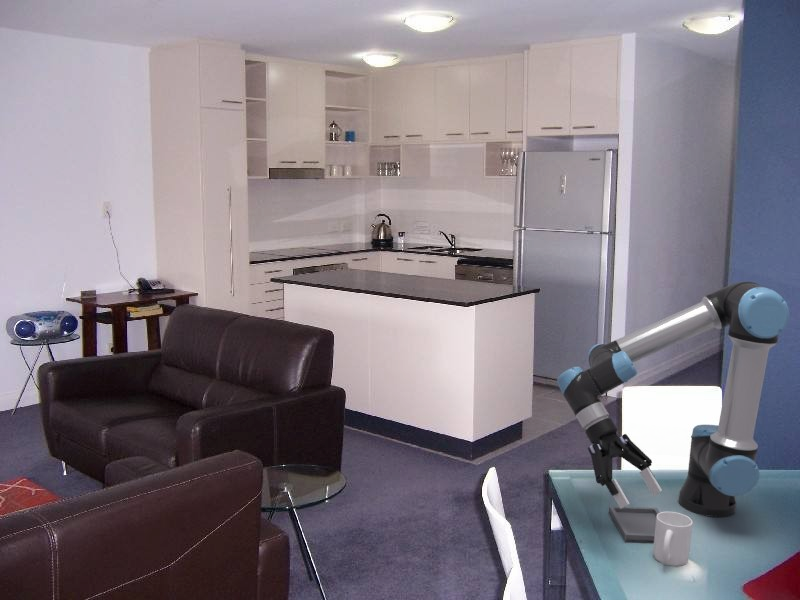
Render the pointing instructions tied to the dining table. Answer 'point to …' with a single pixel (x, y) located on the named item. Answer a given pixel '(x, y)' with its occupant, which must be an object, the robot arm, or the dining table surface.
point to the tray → (635, 523)
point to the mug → (672, 538)
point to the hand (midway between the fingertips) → (641, 499)
